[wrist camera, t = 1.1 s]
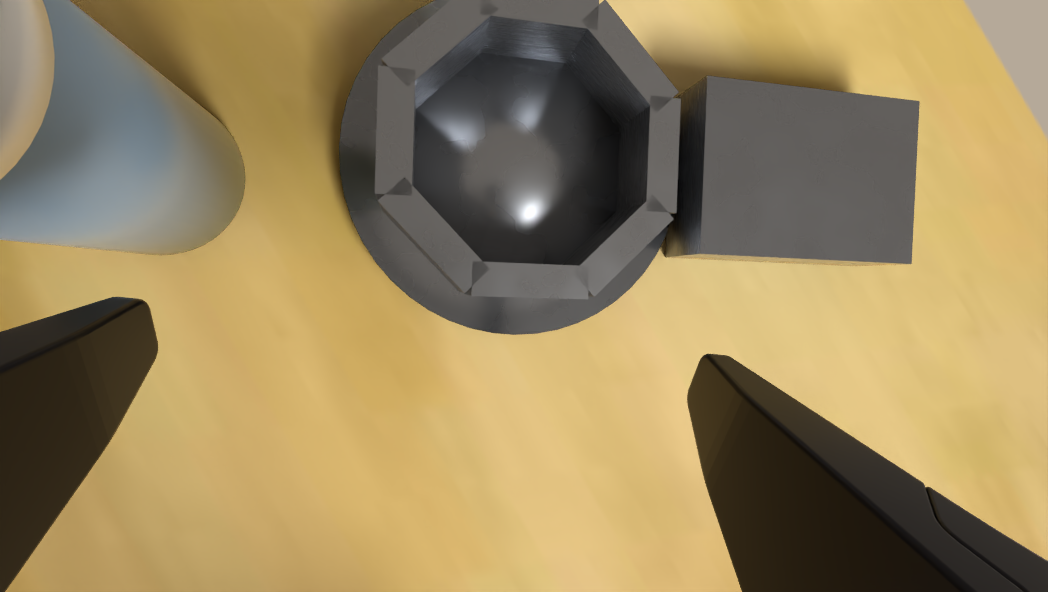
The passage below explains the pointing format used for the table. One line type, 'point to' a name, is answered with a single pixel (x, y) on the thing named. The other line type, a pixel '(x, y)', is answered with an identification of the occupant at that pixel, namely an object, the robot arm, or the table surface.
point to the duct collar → (599, 165)
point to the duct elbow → (104, 142)
